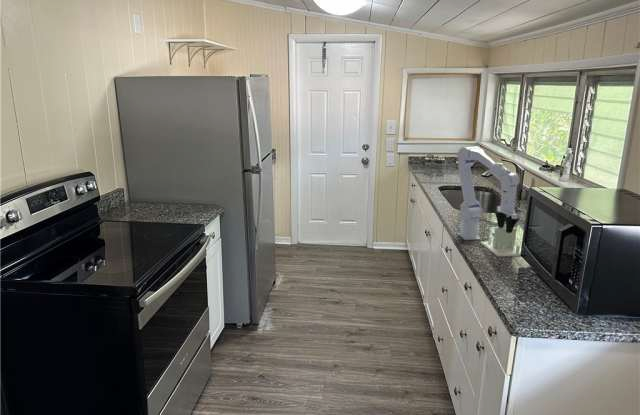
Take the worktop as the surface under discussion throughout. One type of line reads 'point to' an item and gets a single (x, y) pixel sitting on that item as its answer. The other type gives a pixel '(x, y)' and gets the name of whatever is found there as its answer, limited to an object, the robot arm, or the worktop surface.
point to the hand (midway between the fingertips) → (504, 230)
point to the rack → (502, 251)
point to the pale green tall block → (503, 237)
